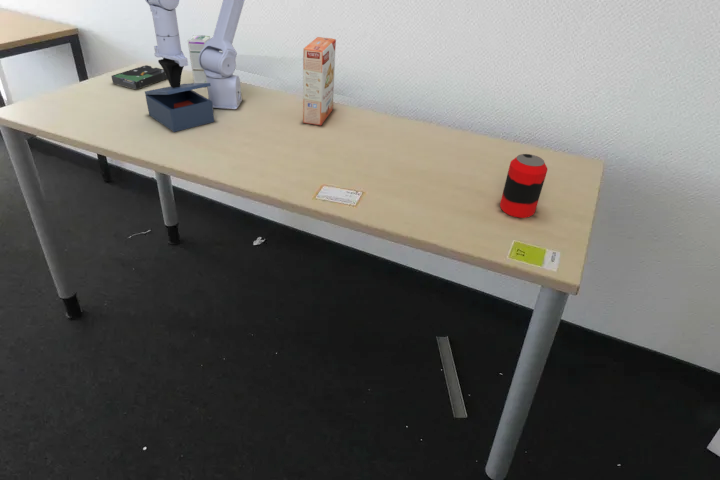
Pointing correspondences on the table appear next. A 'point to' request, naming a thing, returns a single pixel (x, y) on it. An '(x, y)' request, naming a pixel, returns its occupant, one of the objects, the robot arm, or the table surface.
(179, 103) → the block
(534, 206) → the soda can
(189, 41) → the syrup box
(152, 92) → the lid
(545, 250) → the table surface
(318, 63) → the cracker box
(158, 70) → the disk drive
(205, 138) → the table surface
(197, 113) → the toy box
